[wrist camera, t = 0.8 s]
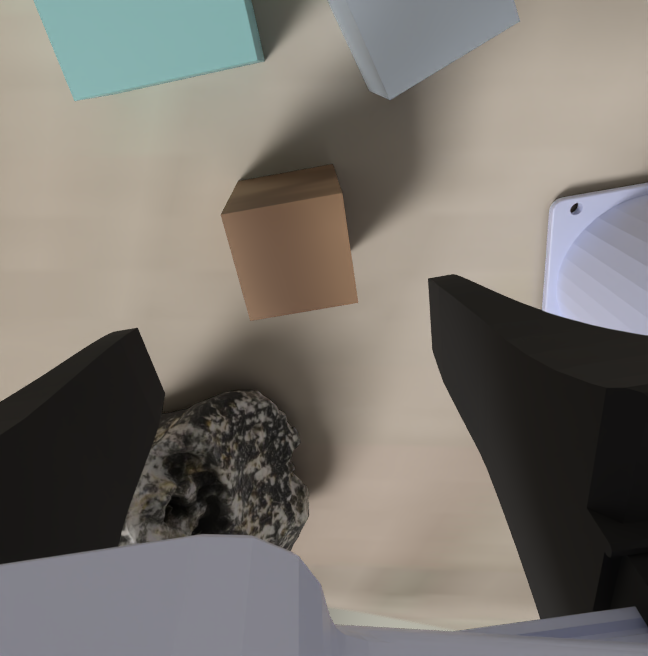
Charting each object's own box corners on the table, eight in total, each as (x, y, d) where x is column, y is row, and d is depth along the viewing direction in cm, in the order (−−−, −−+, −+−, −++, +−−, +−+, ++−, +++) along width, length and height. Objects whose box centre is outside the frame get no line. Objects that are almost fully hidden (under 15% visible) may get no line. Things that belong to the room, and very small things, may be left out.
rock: (87, 348, 25) (-15, 550, 21) (227, 352, 20) (131, 617, 16) (232, 429, 35) (183, 577, 31) (349, 444, 30) (310, 622, 26)
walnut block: (332, 163, 20) (342, 193, 15) (346, 253, 21) (358, 302, 17) (238, 180, 20) (220, 214, 15) (260, 268, 22) (250, 320, 17)
